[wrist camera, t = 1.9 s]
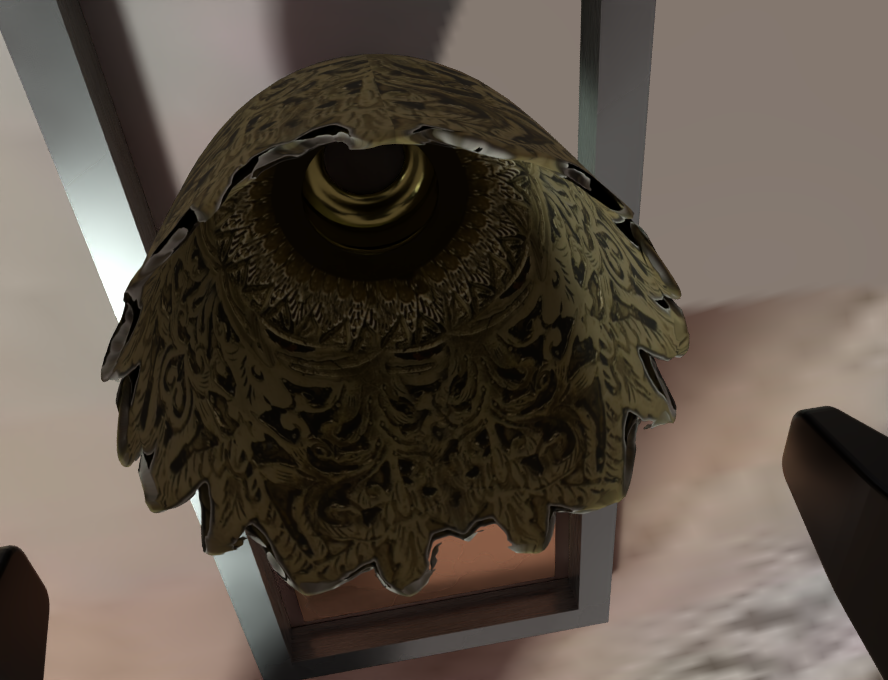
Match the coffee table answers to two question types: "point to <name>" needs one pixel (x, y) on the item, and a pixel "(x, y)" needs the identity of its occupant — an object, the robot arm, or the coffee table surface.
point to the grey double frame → (458, 562)
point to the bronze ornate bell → (390, 331)
